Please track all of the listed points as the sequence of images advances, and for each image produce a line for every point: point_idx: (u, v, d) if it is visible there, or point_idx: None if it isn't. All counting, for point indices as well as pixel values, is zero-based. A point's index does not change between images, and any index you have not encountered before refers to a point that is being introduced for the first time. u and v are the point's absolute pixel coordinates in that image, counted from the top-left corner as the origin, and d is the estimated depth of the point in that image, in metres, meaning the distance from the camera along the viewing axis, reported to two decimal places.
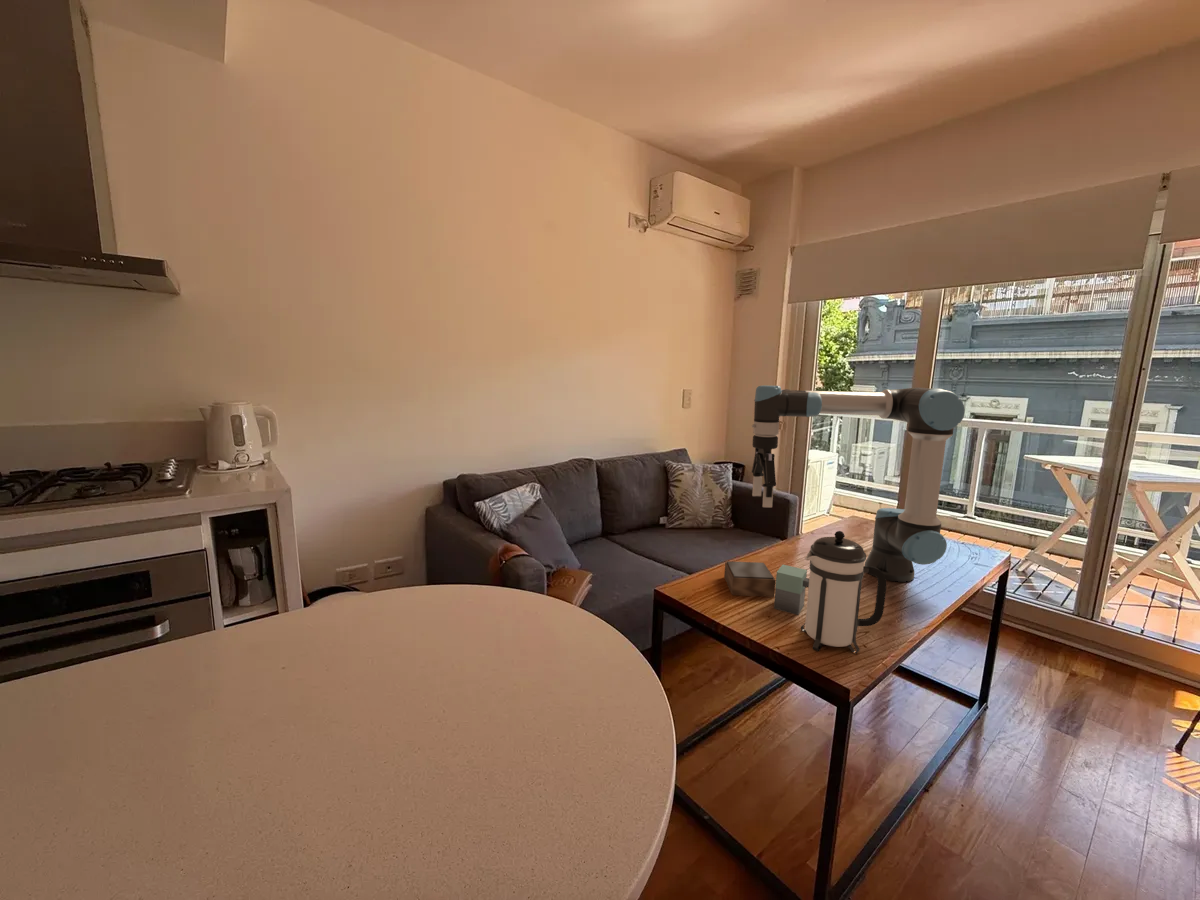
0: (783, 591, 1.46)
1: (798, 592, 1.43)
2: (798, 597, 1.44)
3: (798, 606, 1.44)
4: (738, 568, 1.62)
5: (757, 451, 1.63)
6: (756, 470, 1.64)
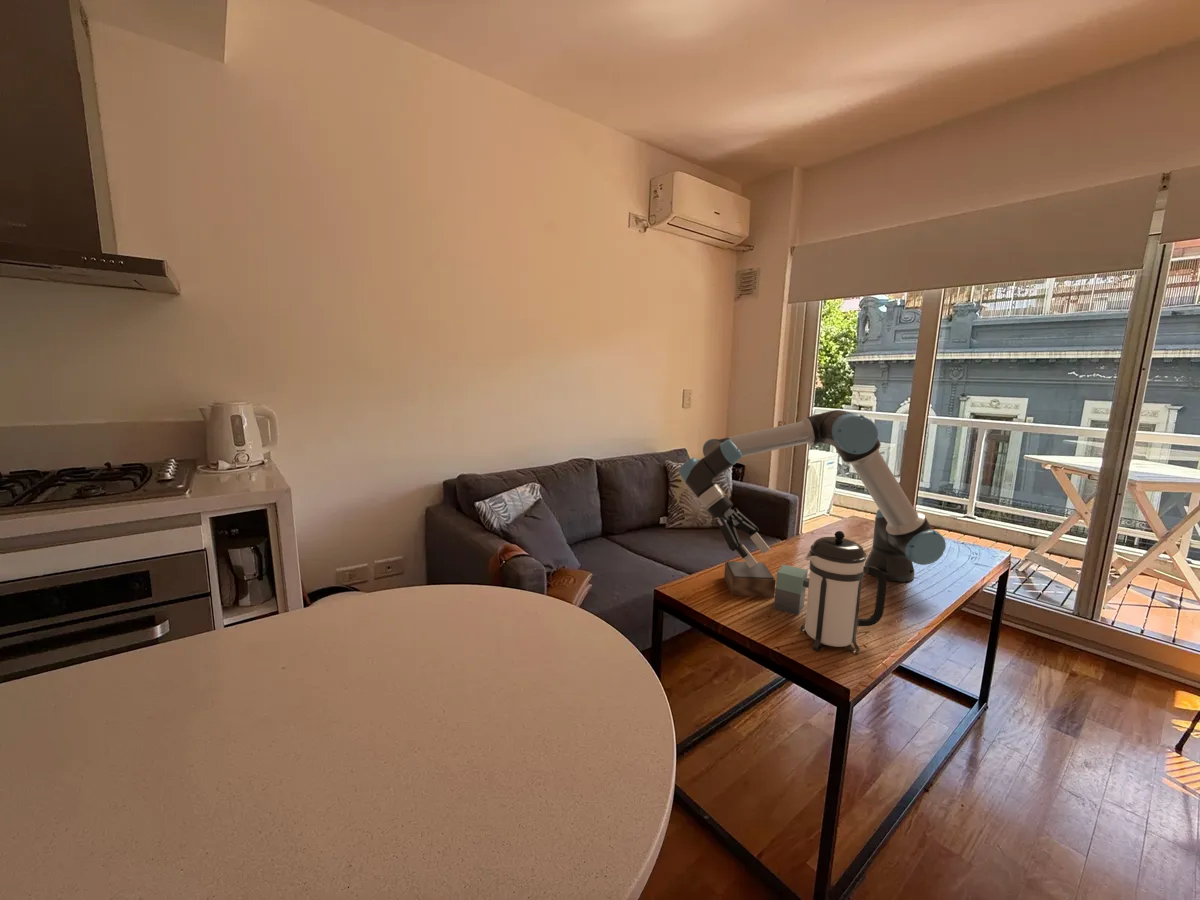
0: (783, 591, 1.46)
1: (798, 592, 1.43)
2: (798, 597, 1.44)
3: (798, 606, 1.44)
4: (738, 568, 1.62)
5: None
6: (745, 531, 1.59)
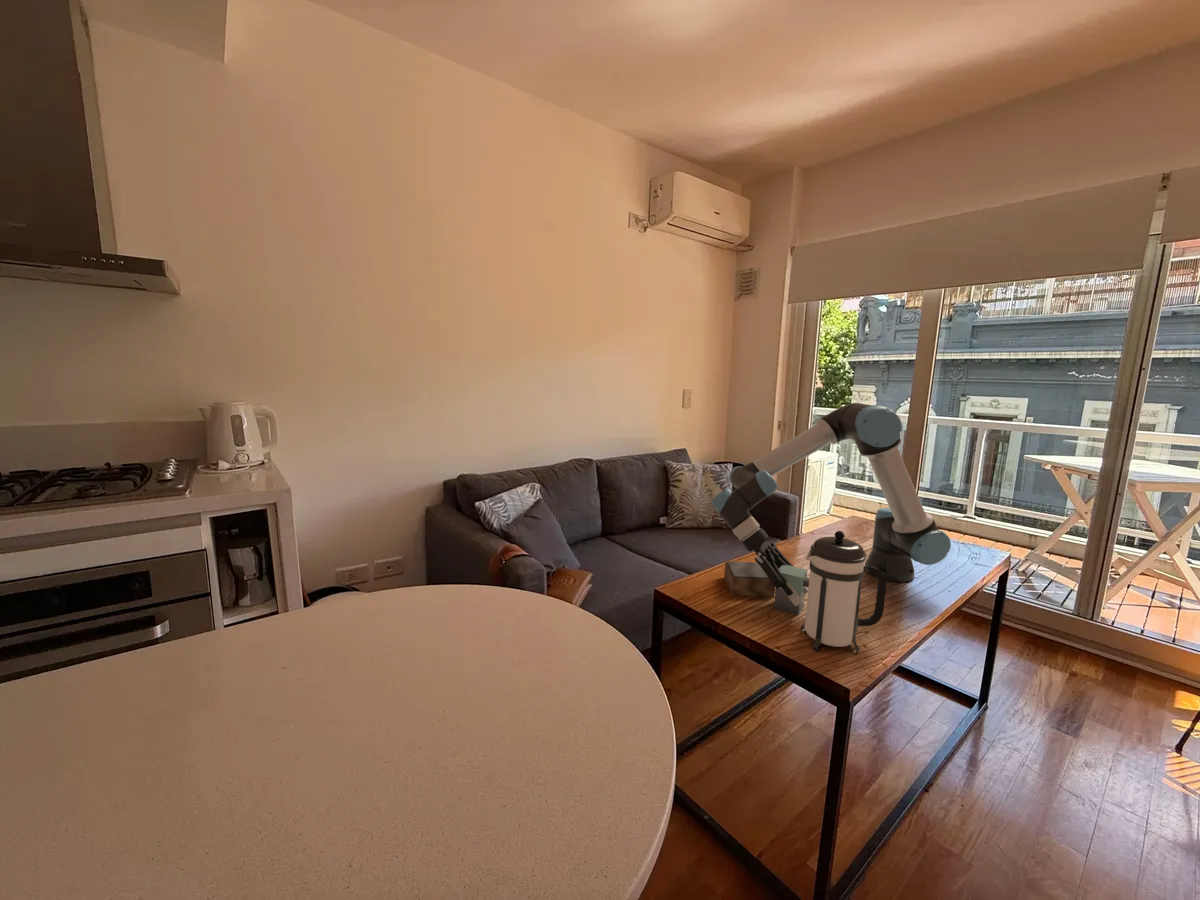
0: (783, 591, 1.46)
1: (798, 592, 1.43)
2: None
3: (798, 606, 1.44)
4: (738, 568, 1.62)
5: None
6: None
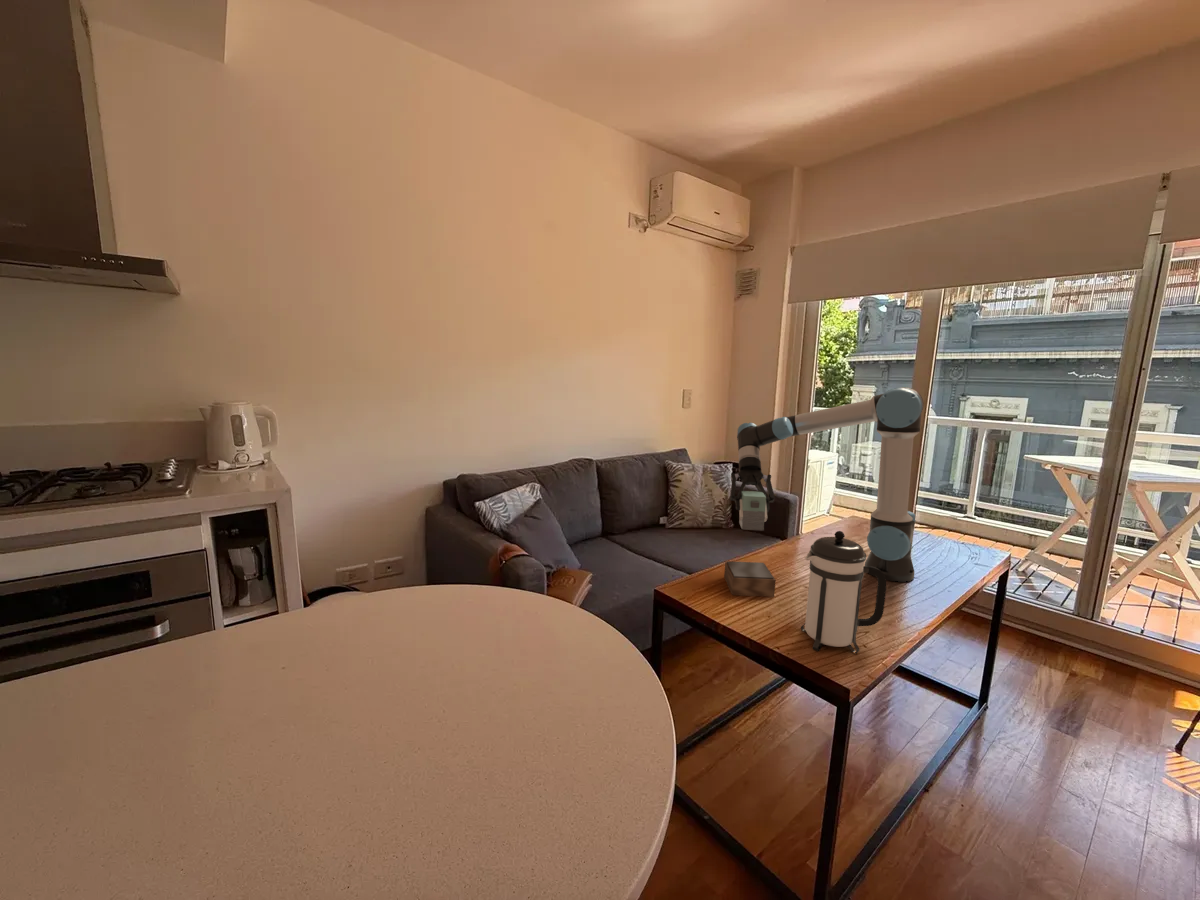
0: None
1: None
2: None
3: (742, 521, 1.67)
4: (738, 568, 1.62)
5: None
6: None
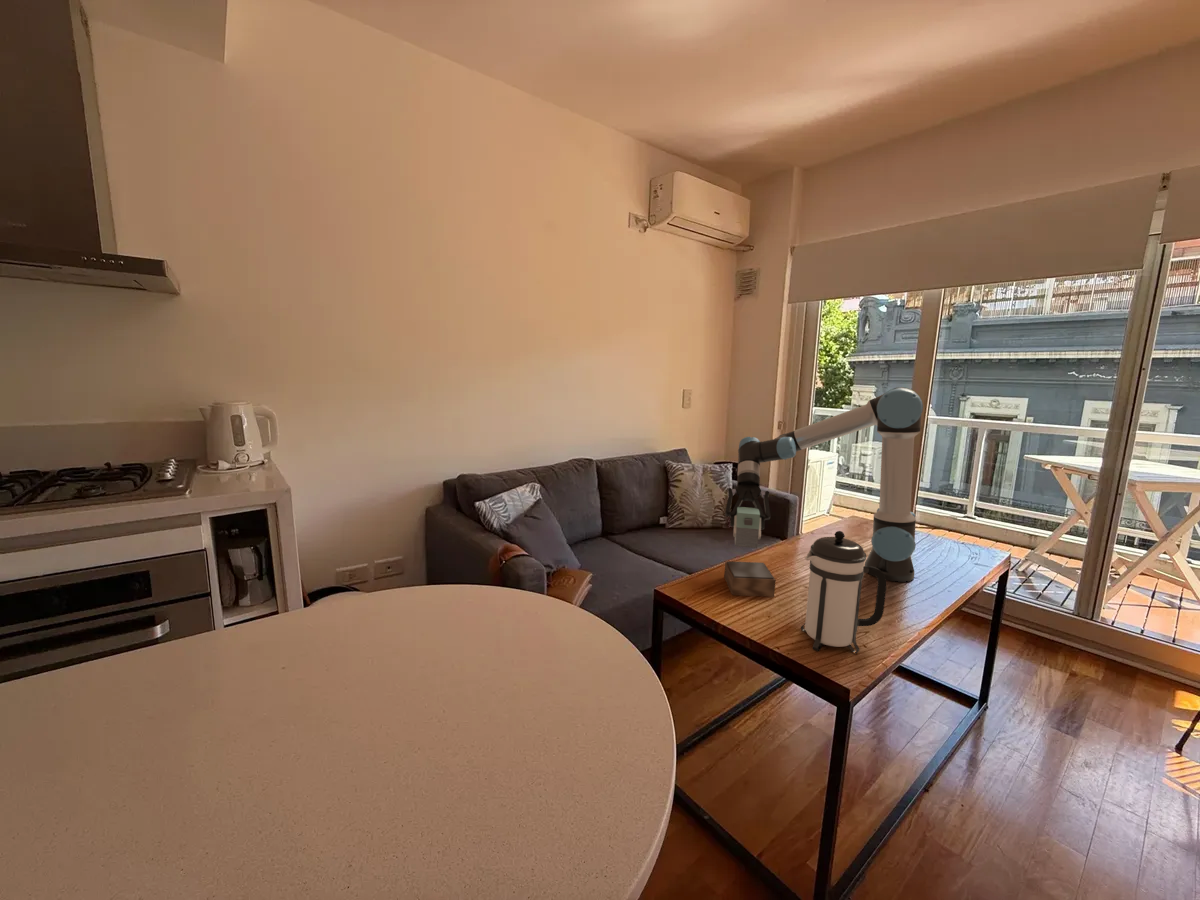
0: None
1: None
2: (736, 529, 1.64)
3: (735, 538, 1.65)
4: (738, 568, 1.62)
5: None
6: None
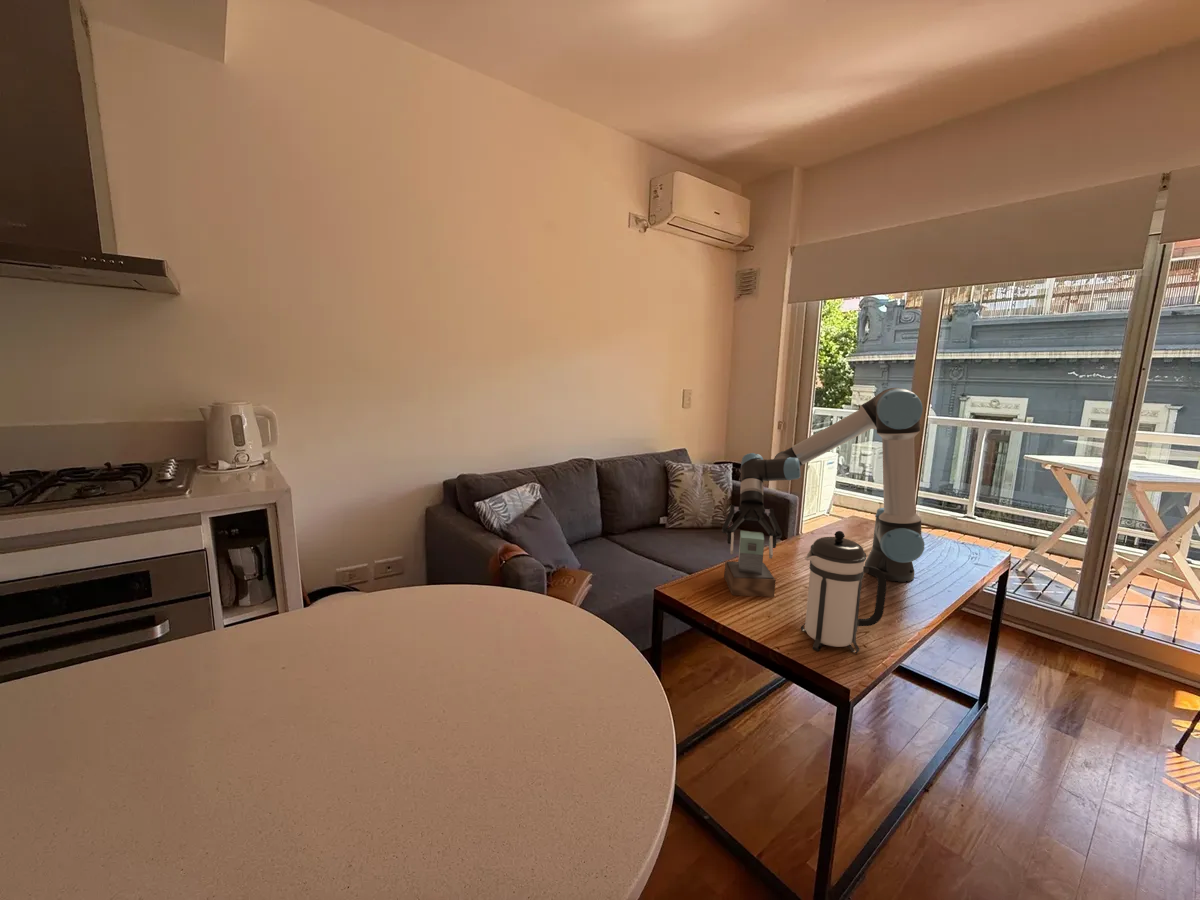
0: (739, 548, 1.62)
1: None
2: (739, 555, 1.58)
3: (739, 563, 1.59)
4: None
5: None
6: (766, 531, 1.62)
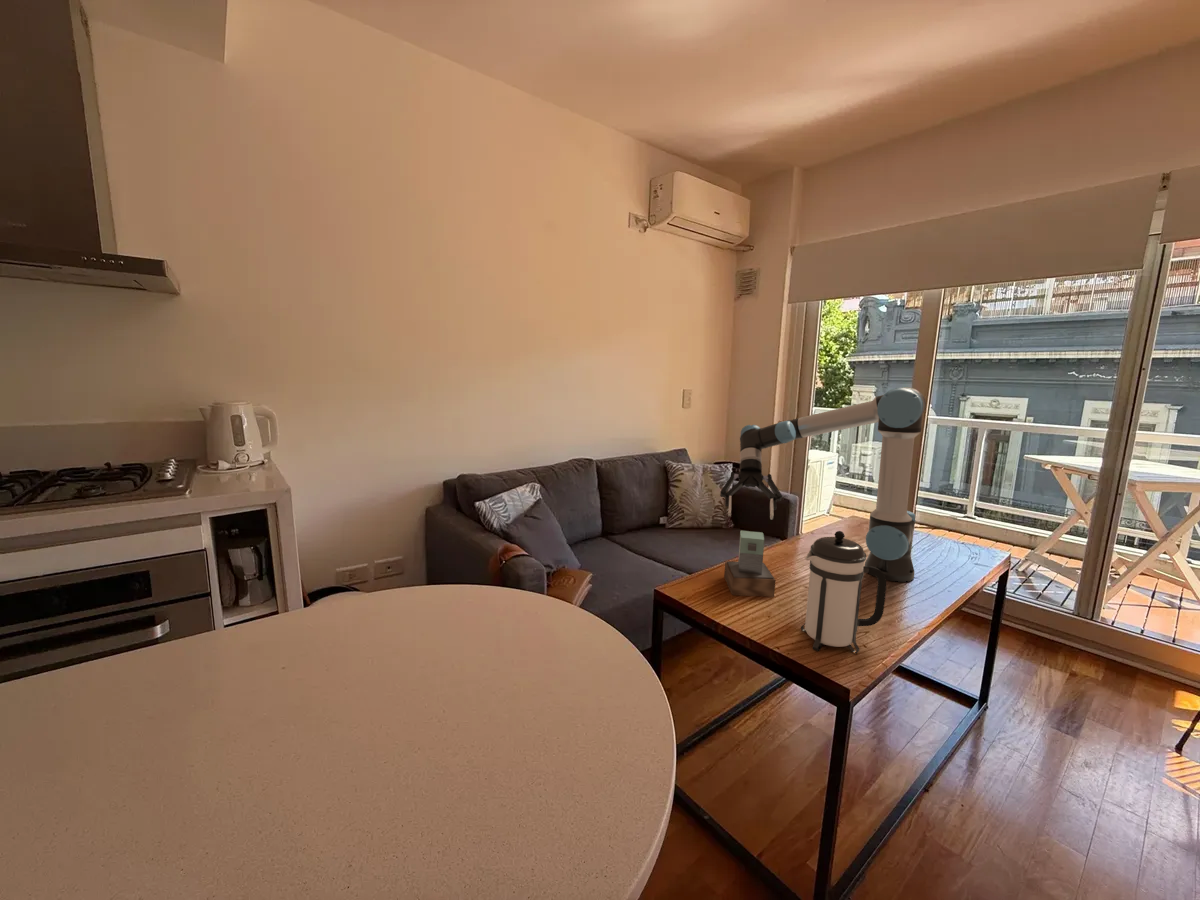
0: (739, 548, 1.62)
1: None
2: (739, 555, 1.58)
3: (739, 563, 1.59)
4: None
5: None
6: (767, 495, 1.72)
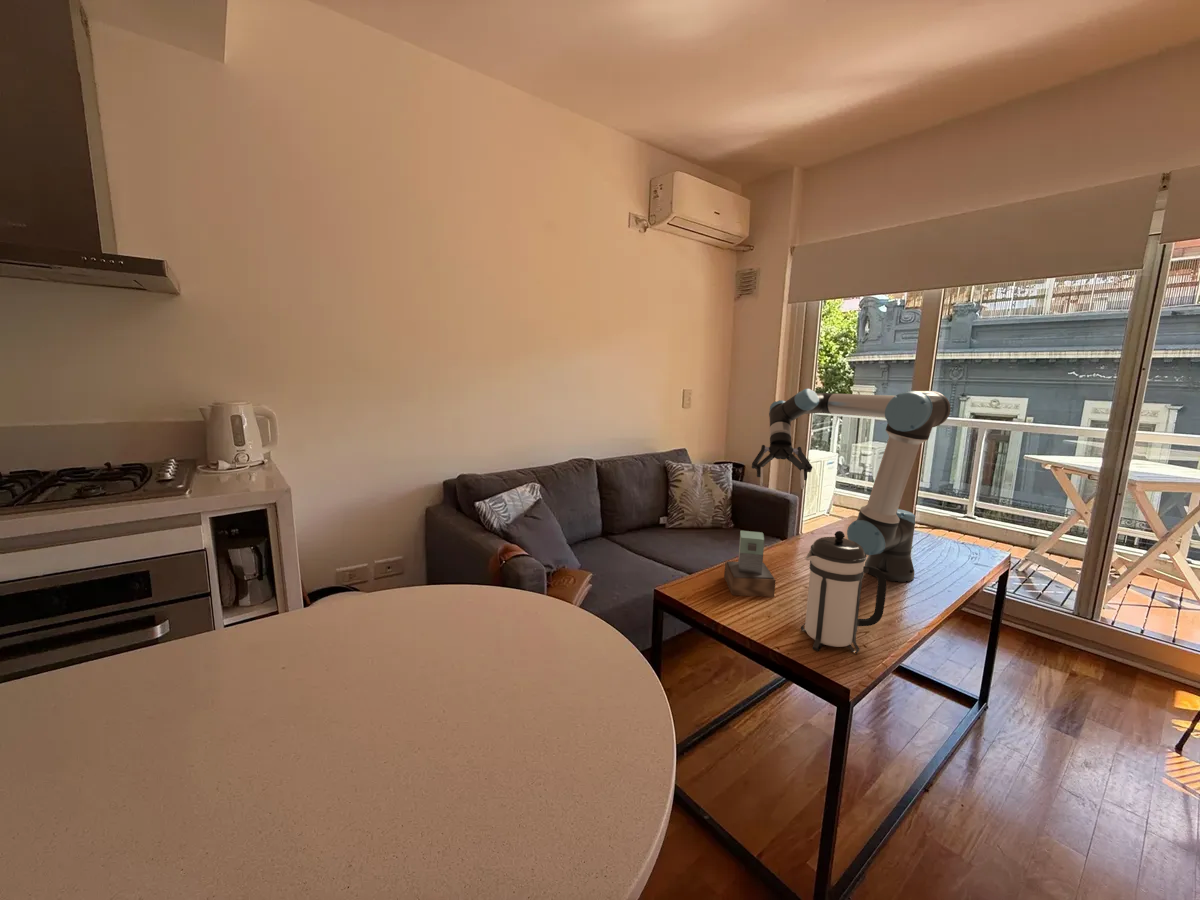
0: (739, 548, 1.62)
1: None
2: (739, 555, 1.58)
3: (739, 563, 1.59)
4: None
5: None
6: (797, 467, 1.78)
